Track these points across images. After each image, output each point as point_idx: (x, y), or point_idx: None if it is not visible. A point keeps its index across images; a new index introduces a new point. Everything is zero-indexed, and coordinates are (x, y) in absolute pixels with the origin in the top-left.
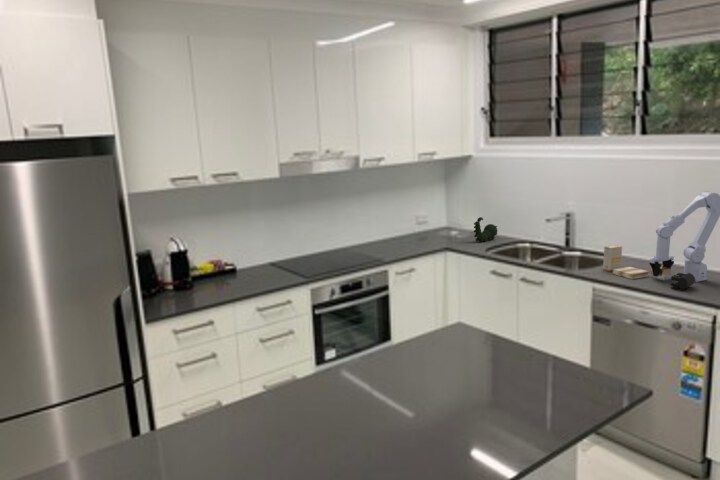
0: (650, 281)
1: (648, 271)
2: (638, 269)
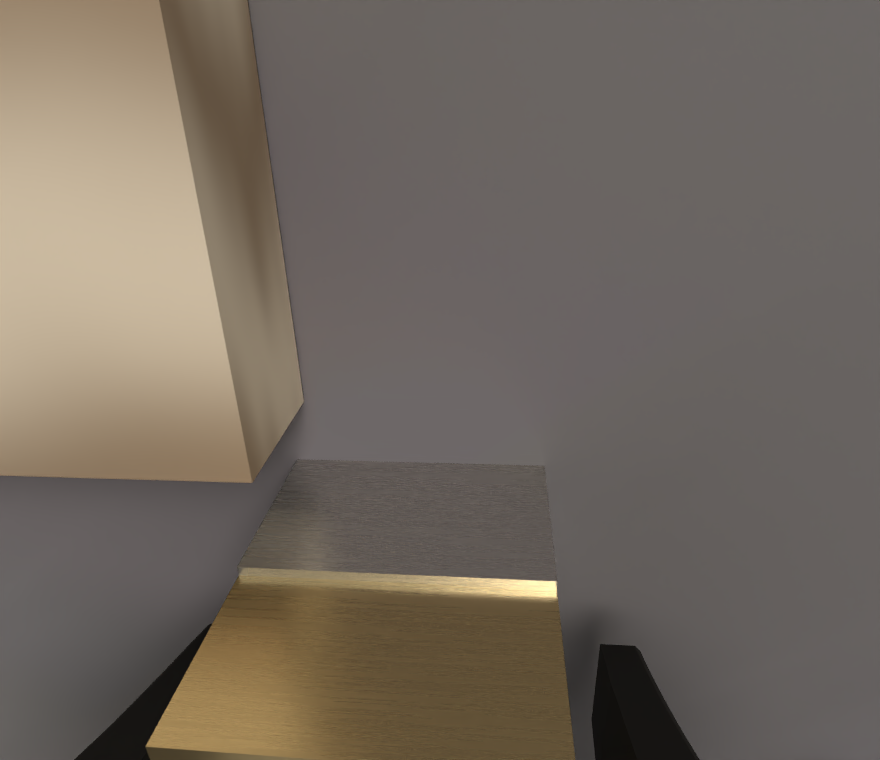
0: (27, 656)
1: (225, 467)
2: (56, 45)
